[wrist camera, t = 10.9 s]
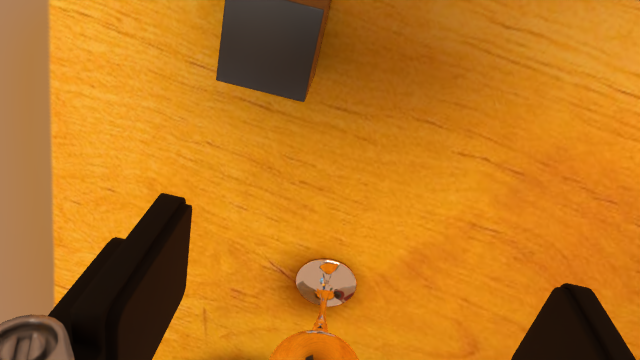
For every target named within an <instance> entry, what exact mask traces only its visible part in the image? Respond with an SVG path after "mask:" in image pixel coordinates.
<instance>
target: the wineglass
mask: <svg viewBox="0 0 640 360" xmlns="http://www.w3.org/2000/svg"><path fill="white" fill-rule="evenodd" d="M296 286H297V289H298V291H299V293H300V294H301V295H302V296H303V297H304V298H305V299H306V300H308V301H309V302H311V303H313V304H316V305H319V306H320V309H319V315H318V318H317V320H316V322H315V323H314V326H313V329H312V330H307V331H302V332H298V333H296V334H293V335H291V336H289V337H287V338H286V339H285V340H283V341H282V342H281V343H280V344H279V345H278V346H277V347H276V348H275V350H274V351H273V353H272V354H271V356H270V358H269V360H359V359H358V357H357V355H356V353H355V352H354V350H353V349H352V348H351V347H350V346H349V345H348V344H347V343H346V342H345V341H344V340H342V339H341V338H340V337H338V336H336V335H334V334H331V333H328V328H327V323H326V307H331V306H337V305H341V304H343V303H345V302H347V301H348V300H349V299H351V297H352V296H353V295H354V293H355V291H356V287H357V282H356V278H355V275H354V274H353V272H352V271H351V270H350V269H349V268H348V267H347V266H346V265H344V264H342V263H340V262H338V261H335V260H331V259H317V260H313V261H310V262H308V263H306V264H305V265H303V266H302V267H301V268H300V270H299V271H298V273H297V276H296Z"/></svg>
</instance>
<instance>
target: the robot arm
mask: <svg viewBox="0 0 640 360" xmlns="http://www.w3.org/2000/svg"><path fill="white" fill-rule="evenodd" d="M191 217H192V206H191V205H187V204H186V201H185V198H183V197H178V196H174V195H169V194H165V193H161V194H160V195H159V196H158V198H157V199H156V200H155V201H154V203H153V204H152V205H151V207H150V208H149V209H148V210H147V212H146V213H145V214H144V216H143V217H142V218H141V219H140V221H139V222H138V223H137V225H136V226H135V227H134V228H133V230H132V231H131V232H130V234H129V235H128V236H127V237H126V239H122V238H117V237H115V238H112V239H111V240H110V241H109V242H108V243H107V244H106V246H105V247H104V248H103V249H102V250H101V252H100V253H99V254H98V255H97V257H96V258H95V259H94V260H93V261H92V263H91V264H90V265H89V266H88V267H87V269H86V270H85V271H84V272H83V274H82V275H81V276H80V277H79V278H78V280H77V281H76V282H75V283H74V284H73V286H72V287H71V288H70V289H69V291H68V292H67V293H66V294H65V295H64V297H63V298H62V299H61V300H60V301H59V303H58V304H57V305H56V306H55V307H54V309H53V310H52V311H51V312H50V314H49V315H48V316H45V315H26V316H20V317H16V318H13V319H10V320H7V321H5V322H2V323H1V324H0V360H152V358H153V356H154V354H155V352H156V350H157V348H158V346H159V344H160V342H161V340H162V338H163V336H164V334H165V332H166V330H167V328H168V326H169V324H170V322H171V320H172V318H173V316H174V314H175V312H176V310H177V308H178V306H179V304H180V302H181V300H182V298H183V295H184V292H185V288H186V278H187V266H188V254H189V242H190V229H191ZM511 360H636V359H635V357H634V356H633V354H632V353H631V351H630V349H629V348H628V346H627V345H626V343H625V342H624V340H623V338H622V337H621V335H620V334H619V332H618V330H617V329H616V327H615V326H614V324H613V322H612V321H611V319H610V318H609V316H608V314H607V313H606V311H605V310H604V308H603V306H602V305H601V303H600V302H599V300H598V298H597V297H596V295H595V294H594V292H593V291H592V290H591V289H589V288H587V287H582V286H578V285H573V284H569V283H565V284H563V285H561V287H556V288H555V289H554V290H553V291H552V292H551V294H550V296H549V297H548V299H547V301H546V302H545V304H544V306H543V307H542V309H541V310H540V312H539V314H538V315H537V317H536V319H535V320H534V322H533V324H532V325H531V327H530V328H529V330H528V332H527V333H526V335H525V337H524V338H523V340H522V342H521V343H520V345H519V347H518V348H517V350H516V351H515V353H514V355H513V357H512V359H511Z"/></svg>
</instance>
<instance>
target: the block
mask: <svg viewBox="0 0 640 360" xmlns="http://www.w3.org/2000/svg"><path fill="white" fill-rule="evenodd" d="M330 3H331V0H225V7H224V15H223V24H222V33H221V41H220V50H219V59H218V68H217V76H216V80H217V81H221V82H225V83H229V84H233V85H237V86H241V87H245V88H249V89H253V90H257V91H261V92H265V93H269V94H273V95H277V96H281V97H285V98H289V99H293V100H297V101H301V102H304V101H305V99H306V96H307V94H308V91H309V88H310V86H311V83H312V80H313V78H314V75H315V70H316V66H317V61H318V57H319V52H320V48H321V43H322V39H323V34H324V30H325V25H326V21H327V16H328V12H329V8H330Z"/></svg>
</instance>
